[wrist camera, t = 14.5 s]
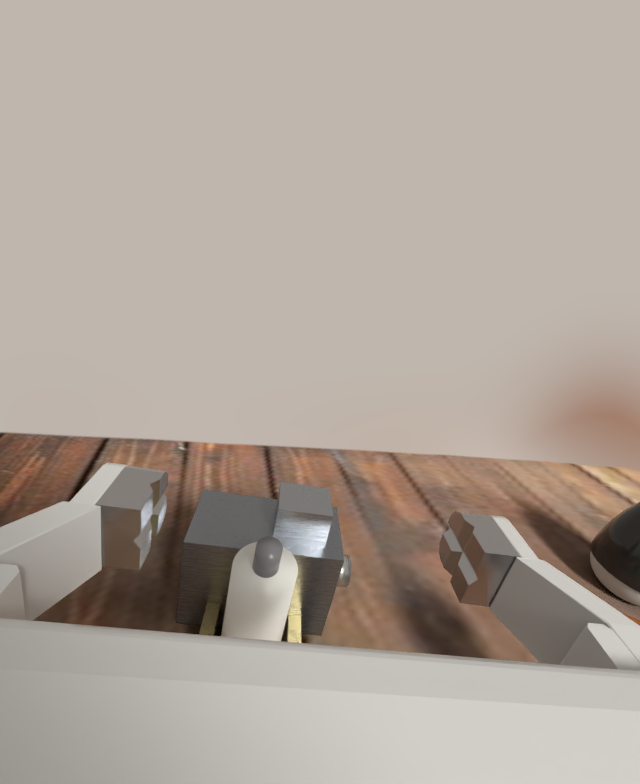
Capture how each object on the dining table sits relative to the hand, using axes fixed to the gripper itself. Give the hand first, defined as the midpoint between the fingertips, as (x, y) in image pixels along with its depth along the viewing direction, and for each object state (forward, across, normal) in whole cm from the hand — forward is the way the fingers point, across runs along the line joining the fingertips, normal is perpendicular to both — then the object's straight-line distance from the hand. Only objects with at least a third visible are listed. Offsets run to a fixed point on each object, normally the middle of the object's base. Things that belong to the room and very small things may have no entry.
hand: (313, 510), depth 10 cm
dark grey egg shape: (+26, -51, +28) cm, 64 cm away
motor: (+16, -1, +28) cm, 32 cm away
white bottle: (+12, 0, +28) cm, 31 cm away
